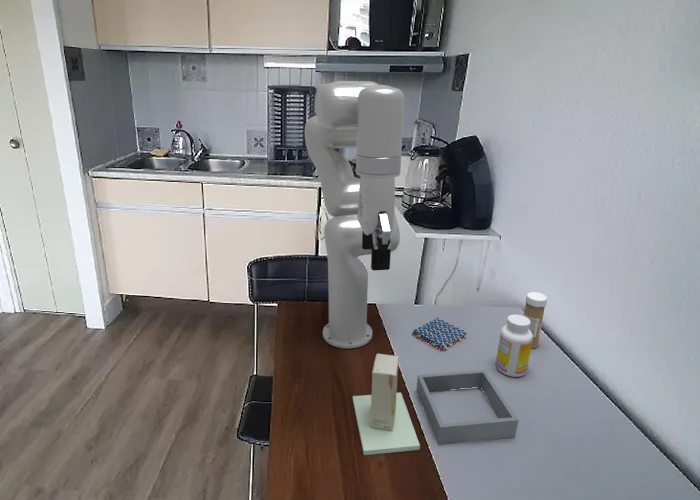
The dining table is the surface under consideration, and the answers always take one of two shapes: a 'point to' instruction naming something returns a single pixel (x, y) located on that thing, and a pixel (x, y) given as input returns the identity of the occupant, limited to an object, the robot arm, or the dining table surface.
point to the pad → (382, 438)
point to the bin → (469, 429)
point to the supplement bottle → (514, 346)
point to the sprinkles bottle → (535, 314)
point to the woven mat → (439, 333)
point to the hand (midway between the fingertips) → (375, 258)
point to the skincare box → (384, 391)
